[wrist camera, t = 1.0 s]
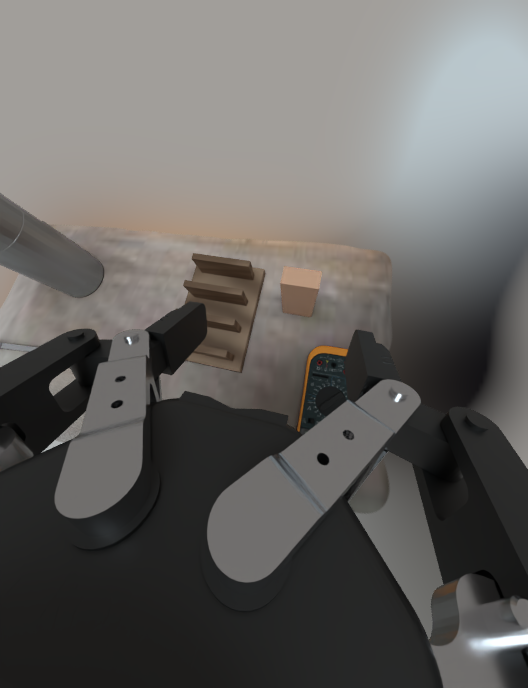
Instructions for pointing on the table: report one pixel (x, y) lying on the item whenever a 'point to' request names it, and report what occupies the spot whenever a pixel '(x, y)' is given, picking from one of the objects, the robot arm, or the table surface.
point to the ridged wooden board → (225, 308)
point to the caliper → (16, 347)
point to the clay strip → (299, 290)
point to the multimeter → (322, 386)
